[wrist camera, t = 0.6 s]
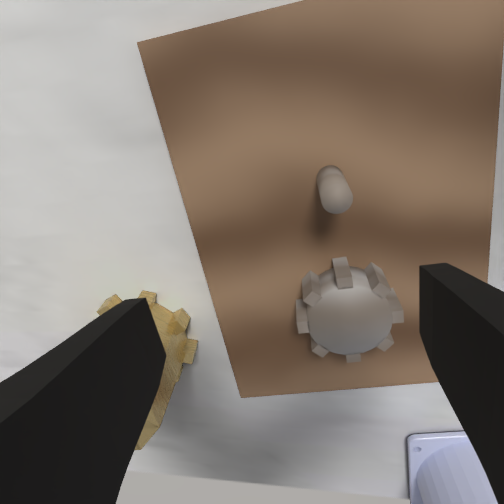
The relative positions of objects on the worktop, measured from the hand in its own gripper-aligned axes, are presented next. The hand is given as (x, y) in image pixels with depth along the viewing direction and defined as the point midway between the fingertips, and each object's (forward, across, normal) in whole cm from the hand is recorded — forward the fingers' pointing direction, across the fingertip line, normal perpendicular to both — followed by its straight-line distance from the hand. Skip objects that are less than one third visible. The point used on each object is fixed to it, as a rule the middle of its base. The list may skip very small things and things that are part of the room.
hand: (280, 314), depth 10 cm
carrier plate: (+10, -2, +2) cm, 10 cm away
